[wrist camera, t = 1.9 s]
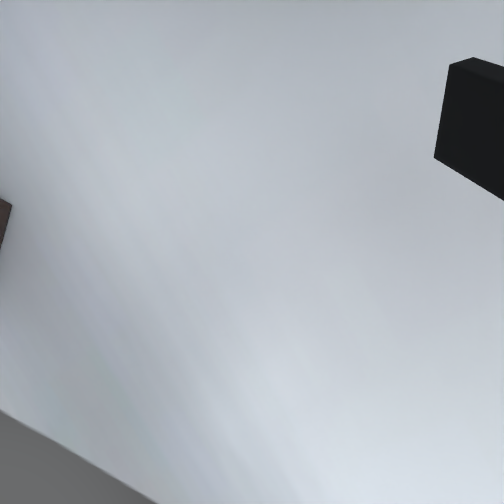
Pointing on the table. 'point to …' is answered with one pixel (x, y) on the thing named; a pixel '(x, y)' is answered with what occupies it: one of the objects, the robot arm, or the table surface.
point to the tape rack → (3, 217)
